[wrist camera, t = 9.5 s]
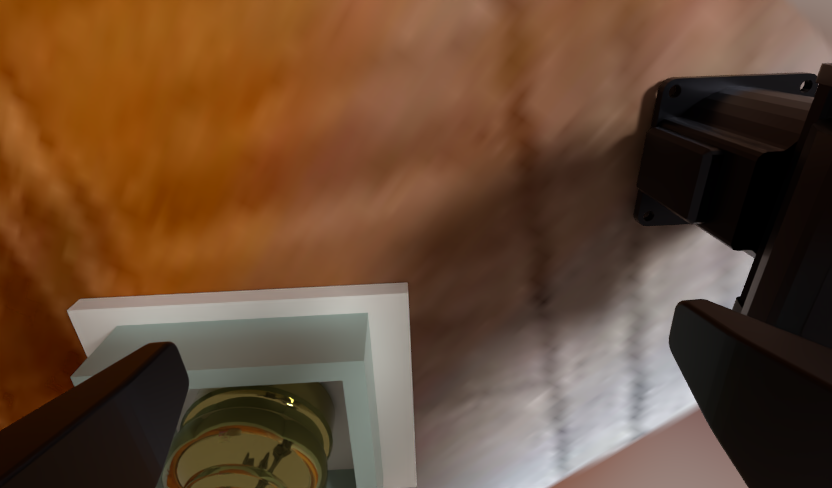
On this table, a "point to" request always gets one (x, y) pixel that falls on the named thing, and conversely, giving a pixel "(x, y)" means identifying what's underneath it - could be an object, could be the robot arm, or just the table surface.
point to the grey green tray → (284, 358)
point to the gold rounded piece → (253, 438)
